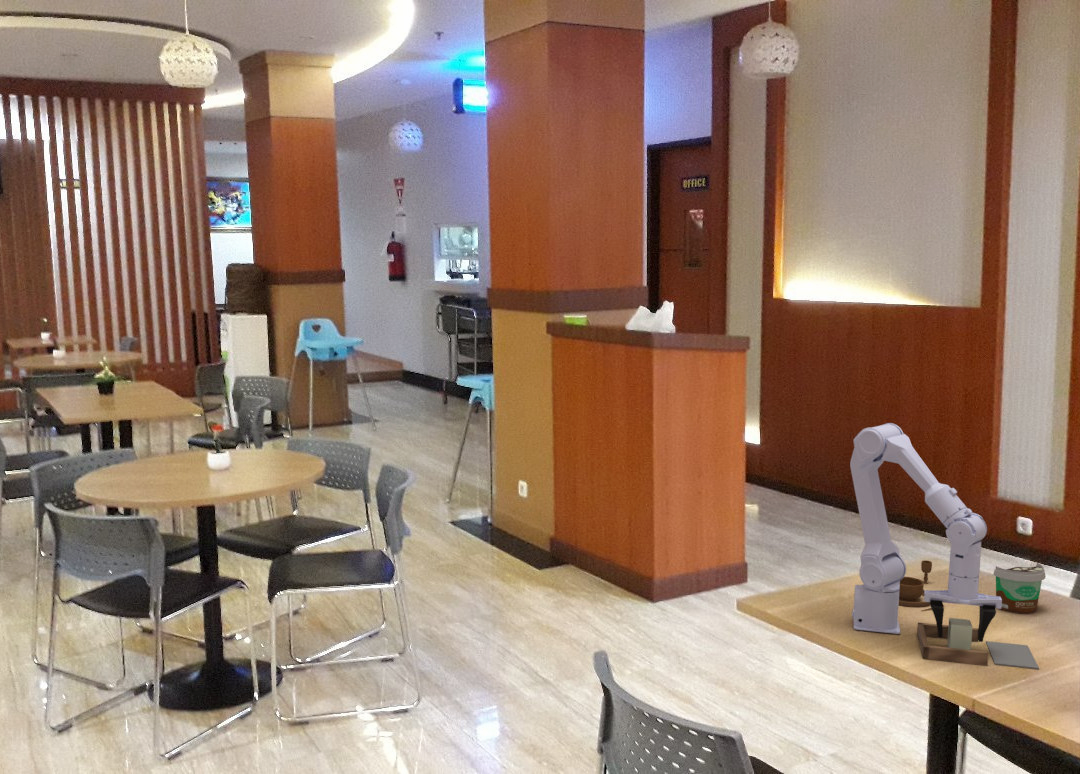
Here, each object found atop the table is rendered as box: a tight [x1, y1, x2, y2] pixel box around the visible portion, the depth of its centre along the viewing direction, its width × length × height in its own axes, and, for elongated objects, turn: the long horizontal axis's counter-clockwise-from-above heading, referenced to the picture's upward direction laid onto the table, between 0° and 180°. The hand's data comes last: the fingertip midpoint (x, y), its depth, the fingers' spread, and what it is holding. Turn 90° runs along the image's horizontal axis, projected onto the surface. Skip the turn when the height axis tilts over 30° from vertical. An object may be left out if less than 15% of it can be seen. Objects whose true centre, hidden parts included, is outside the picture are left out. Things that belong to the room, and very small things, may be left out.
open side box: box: [916, 622, 989, 666], centre depth 211 cm, size 12×14×2 cm
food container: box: [992, 562, 1046, 615], centre depth 233 cm, size 12×6×10 cm, turn 105°
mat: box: [985, 640, 1040, 670], centre depth 208 cm, size 8×12×1 cm, turn 165°
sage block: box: [946, 617, 973, 650], centre depth 210 cm, size 4×4×6 cm
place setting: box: [899, 559, 945, 612], centre depth 242 cm, size 18×20×6 cm
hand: (959, 638), depth 210 cm, fingers open, 7 cm apart
